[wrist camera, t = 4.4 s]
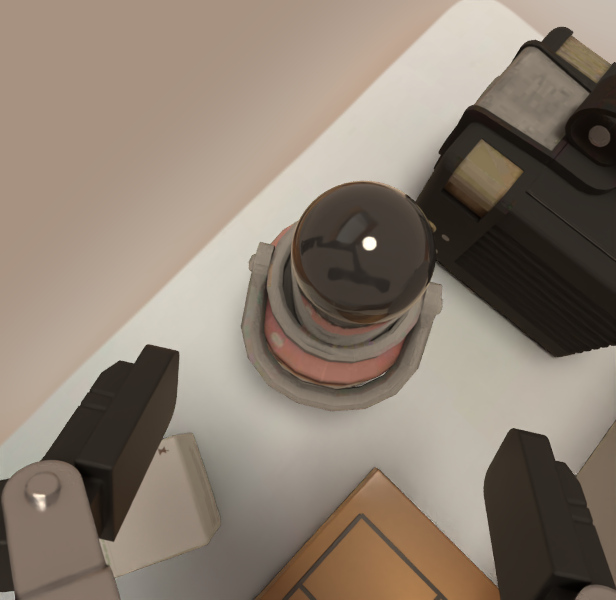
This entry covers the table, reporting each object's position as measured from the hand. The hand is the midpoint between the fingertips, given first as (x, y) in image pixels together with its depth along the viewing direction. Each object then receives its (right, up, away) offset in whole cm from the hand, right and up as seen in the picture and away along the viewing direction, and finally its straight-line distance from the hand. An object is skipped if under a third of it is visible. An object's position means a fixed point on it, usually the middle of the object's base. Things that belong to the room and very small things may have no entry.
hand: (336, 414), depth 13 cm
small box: (-9, -9, +19) cm, 23 cm away
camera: (+13, +7, +23) cm, 27 cm away
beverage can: (0, +1, +21) cm, 21 cm away
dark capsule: (+1, +3, +9) cm, 10 cm away
